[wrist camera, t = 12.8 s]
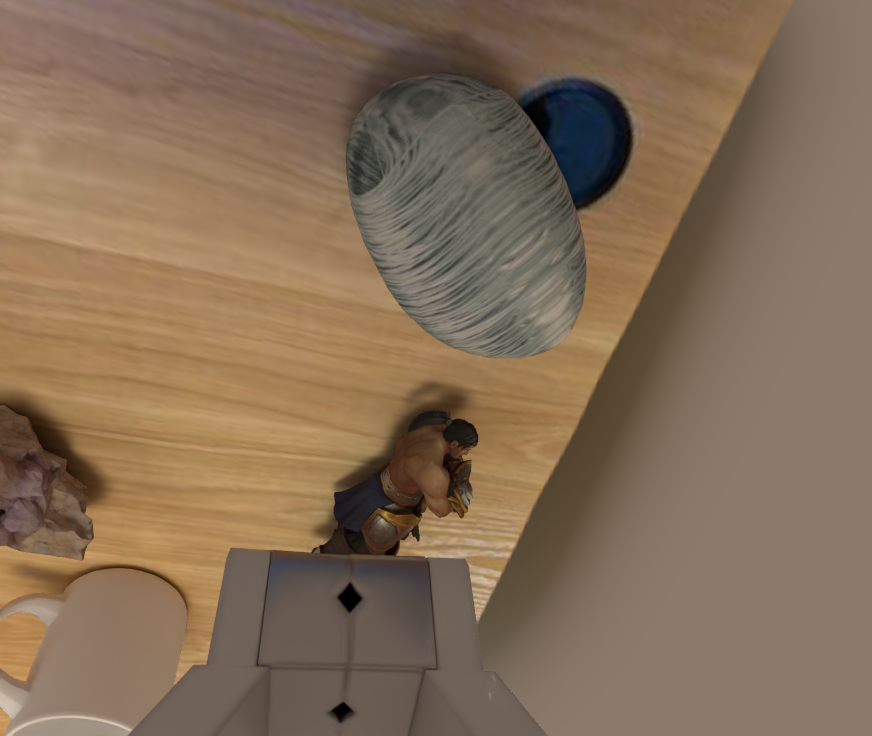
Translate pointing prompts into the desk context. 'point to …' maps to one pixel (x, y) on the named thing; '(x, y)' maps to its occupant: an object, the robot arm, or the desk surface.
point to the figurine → (406, 488)
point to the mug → (97, 655)
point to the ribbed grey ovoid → (467, 215)
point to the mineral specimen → (39, 495)
